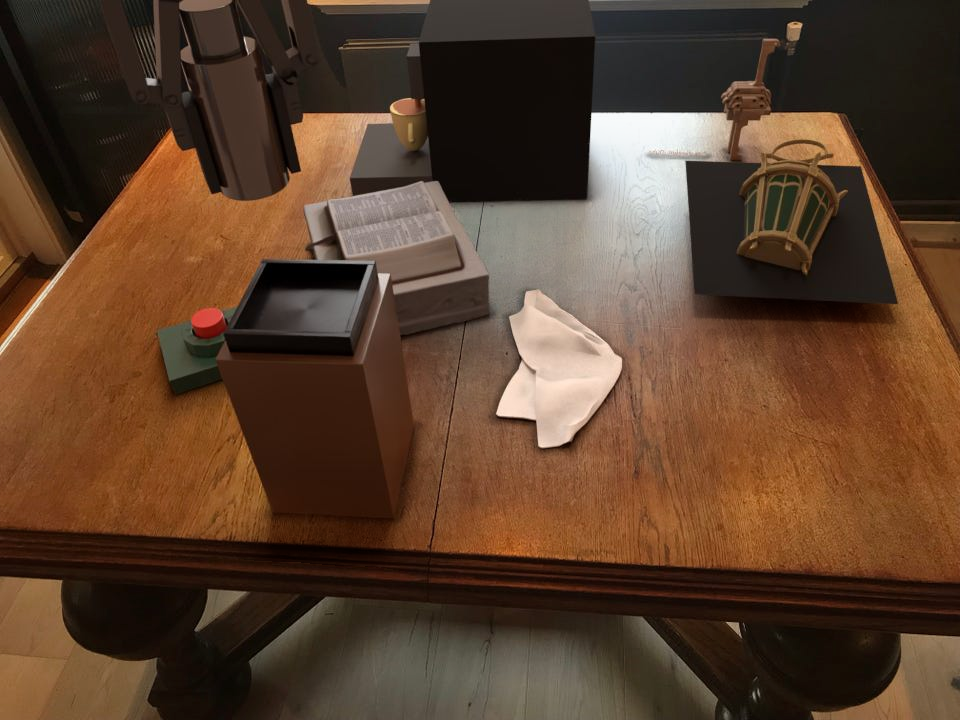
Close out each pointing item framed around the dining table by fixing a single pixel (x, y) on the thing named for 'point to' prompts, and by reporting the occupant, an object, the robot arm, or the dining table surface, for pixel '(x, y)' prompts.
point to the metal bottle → (232, 100)
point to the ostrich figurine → (744, 103)
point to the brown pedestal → (321, 386)
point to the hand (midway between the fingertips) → (252, 174)
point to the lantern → (785, 231)
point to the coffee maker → (491, 105)
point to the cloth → (557, 371)
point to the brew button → (208, 323)
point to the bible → (407, 251)
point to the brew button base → (191, 355)
